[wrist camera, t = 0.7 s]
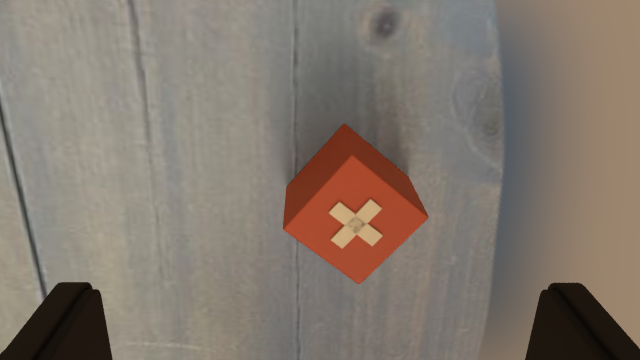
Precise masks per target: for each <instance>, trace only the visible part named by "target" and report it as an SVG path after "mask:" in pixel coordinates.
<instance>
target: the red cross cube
mask: <svg viewBox="0 0 640 360" xmlns="http://www.w3.org/2000/svg"><path fill="white" fill-rule="evenodd" d="M427 219H428V215H427V213H426V211H425V209H424V207H423V205H422V203H421V201H420V199H419V197H418V195H417V193H416V191H415V189H414V187H413V185H412V183H411V181H410V179H409V177H408V176H407V175H406V174H404V173H403V172H402V171H401V170H400V169H398V168H397V167H396V166H395V165H394V164H392V163H391V162H390V161H389V160H388V159H386V158H385V157H384V156H383V155H382V154H380V153H379V152H378V151H377V150H376V149H374V148H373V147H372V146H371V145H370V144H368V143H367V142H366V141H365V140H364V139H363V138H361V137H360V136H359V135H358V134H357V133H355V132H354V131H353V130H352V129H351V128H349V127H348V126H347V125H346V124H343V125H342V126H341V127H340V128H339V130H338V131H337V132H336V133H335V134H334V135H333V136H332V137H331V138H330V140H329V141H328V142H327V143H326V144H325V145H324V146H323V147H322V148H321V149H320V151H319V152H318V153H317V154H316V155H315V156H314V157H313V158H312V159H311V161H310V162H309V163H308V164H307V165H306V166H305V167H304V168H303V169H302V171H301V172H300V173H299V174H298V175H297V176H296V177H295V178H294V179H293V181H292V182H291V183H290V184H289V185H288V186H287V188H286V198H285V210H284V222H283V229H284V230H285V231H286V232H287V233H289V234H290V235H292V236H293V237H294V238H296V239H297V240H298V241H300V242H301V243H303V244H304V245H305V246H307V247H308V248H309V249H311V250H312V251H314V252H315V253H316V254H318V255H319V256H320V257H322V258H323V259H325V260H326V261H327V262H329V263H330V264H331V265H333V266H334V267H336V268H337V269H338V270H340V271H341V272H342V273H344V274H345V275H347V276H348V277H349V278H351V279H352V280H353V281H355V282H356V283H358V284H360V283H361V282H362V281H363V280H364V279H365V278H366V277H368V276H369V275H370V274H371V273H372V272H373V271H374V270H375V269H376V268H377V267H378V266H379V265H380V264H381V263H382V262H383V261H384V260H385V259H386V258H387V257H388V256H389V255H390V254H391V253H392V252H393V251H395V250H396V249H397V248H398V247H399V246H400V245H401V244H402V243H403V242H404V241H405V240H406V239H407V238H408V237H409V236H410V235H411V234H412V233H413V232H414V231H415V230H416V229H417V228H418V227H419V226H420V225H422V224H423V223H424V222H425V221H426V220H427Z"/></svg>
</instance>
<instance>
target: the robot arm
mask: <svg viewBox="0 0 640 360" xmlns="http://www.w3.org/2000/svg"><path fill="white" fill-rule="evenodd" d="M0 360H112V354H111V348H110V343H109V337H108V332H107V326H106V320H105V315H104V309H103V304H102V298H101V294H100V291H99V290H97V289H92V286H91V285H90V283H88V282H61V283H58V284H57V285H56V286H55V287H54V288H53V290H52V291H51V292H50V293H49V295H48V296H47V297H46V298H45V300H44V301H43V302H42V304H41V305H40V306H39V307H38V309H37V310H36V311H35V312H34V314H33V315H32V316H31V318H30V319H29V320H28V321H27V323H26V324H25V325H24V326H23V328H22V329H21V330H20V331H19V333H18V334H17V335H16V337H15V338H14V339H13V340H12V342H11V343H10V344H9V345H8V347H7V348H6V349H5V350H4V351H3V352H2V353H1V354H0ZM525 360H640V349H639V348H638V346H637V345H636V344H635V343H634V342H633V341H632V340H631V338H630V337H629V336H628V335H627V334H626V333H625V332H624V330H623V329H622V328H621V327H620V326H619V325H618V324H617V323H616V321H615V320H614V319H613V318H612V317H611V316H610V315H609V313H608V312H607V311H606V310H605V309H604V308H603V307H602V306H601V304H600V303H599V302H598V301H597V300H596V299H595V298H594V296H593V295H592V294H591V293H590V292H589V291H588V290H587V289H586V287H584V286H583V285H582V284H580V283H552V284H550V286H549V287H548V290H543V291H542V292H541V294H540V297H539V302H538V306H537V310H536V314H535V319H534V324H533V328H532V332H531V336H530V341H529V345H528V350H527V354H526V358H525Z"/></svg>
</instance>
